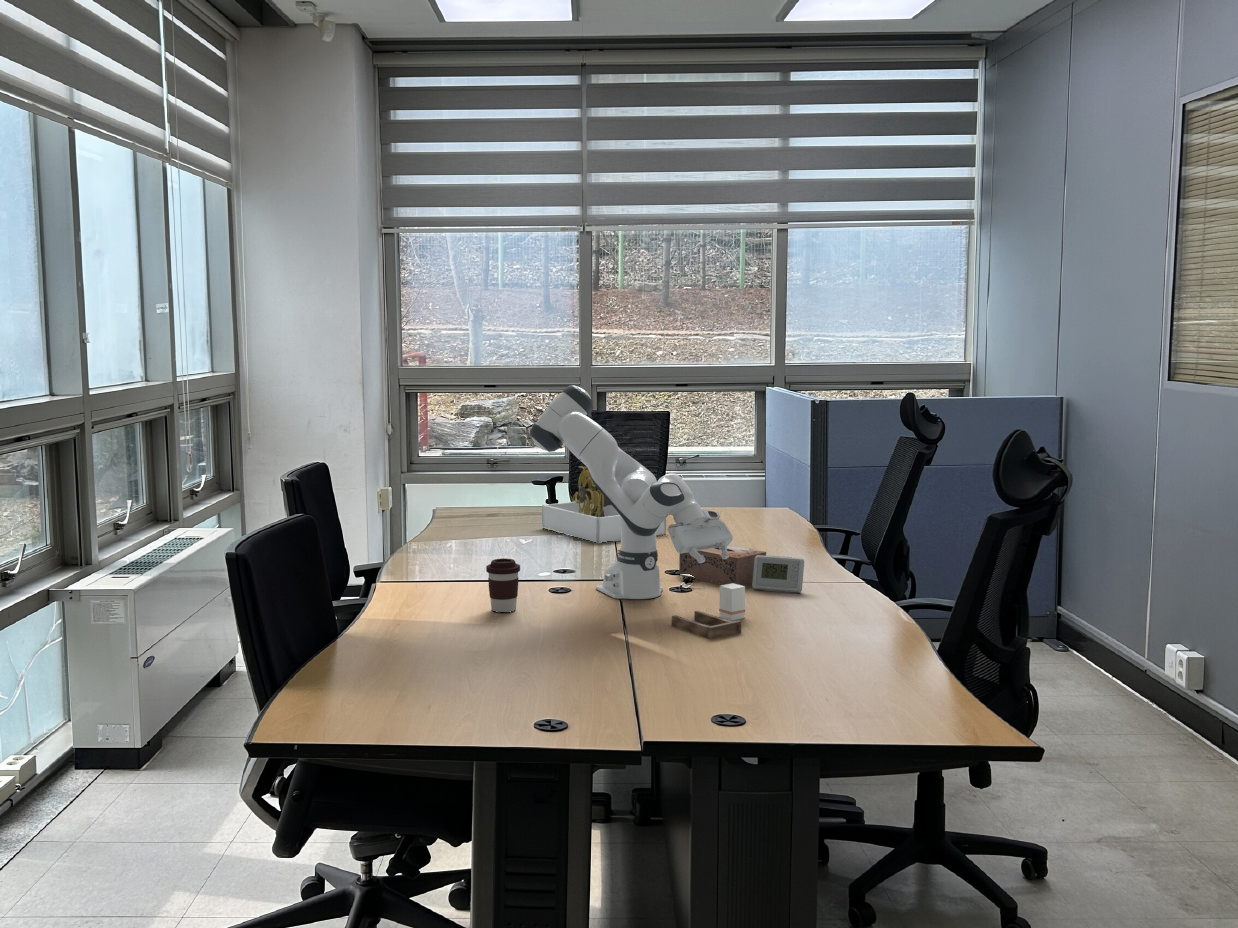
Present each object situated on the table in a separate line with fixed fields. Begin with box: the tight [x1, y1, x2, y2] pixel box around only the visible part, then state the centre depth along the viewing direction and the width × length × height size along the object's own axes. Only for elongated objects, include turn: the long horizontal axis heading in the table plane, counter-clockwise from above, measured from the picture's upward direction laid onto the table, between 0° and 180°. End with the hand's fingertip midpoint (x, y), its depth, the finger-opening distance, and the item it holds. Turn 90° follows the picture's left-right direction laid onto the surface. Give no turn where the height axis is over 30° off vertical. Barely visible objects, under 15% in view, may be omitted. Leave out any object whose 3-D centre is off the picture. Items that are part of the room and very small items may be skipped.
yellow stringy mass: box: [571, 465, 611, 518], centre depth 446 cm, size 26×32×30 cm
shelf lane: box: [669, 610, 742, 640], centre depth 295 cm, size 17×11×4 cm, turn 37°
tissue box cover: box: [678, 544, 767, 587], centre depth 363 cm, size 26×14×10 cm, turn 43°
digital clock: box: [751, 555, 805, 594], centre depth 345 cm, size 16×9×11 cm, turn 59°
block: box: [718, 583, 746, 621], centre depth 306 cm, size 6×5×10 cm
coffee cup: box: [485, 557, 521, 613], centre depth 319 cm, size 10×10×15 cm
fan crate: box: [541, 500, 667, 544], centre depth 447 cm, size 40×34×10 cm
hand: (714, 559), depth 312 cm, fingers open, 8 cm apart
